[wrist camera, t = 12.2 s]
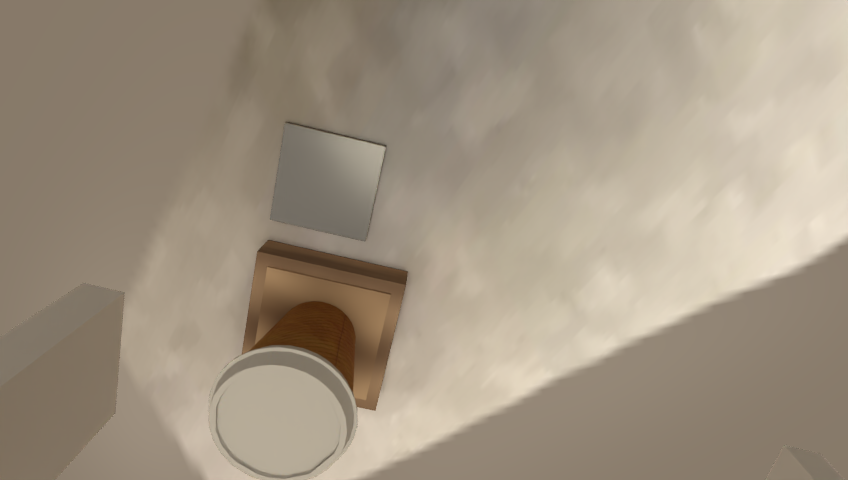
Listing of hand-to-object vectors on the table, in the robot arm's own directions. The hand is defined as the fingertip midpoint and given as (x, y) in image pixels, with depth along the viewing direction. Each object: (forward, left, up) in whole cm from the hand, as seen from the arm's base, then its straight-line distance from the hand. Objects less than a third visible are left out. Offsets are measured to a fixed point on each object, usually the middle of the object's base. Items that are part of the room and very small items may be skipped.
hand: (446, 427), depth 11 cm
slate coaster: (+4, -8, -35) cm, 36 cm away
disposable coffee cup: (+16, -6, -32) cm, 36 cm away
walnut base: (+16, -6, -35) cm, 39 cm away
